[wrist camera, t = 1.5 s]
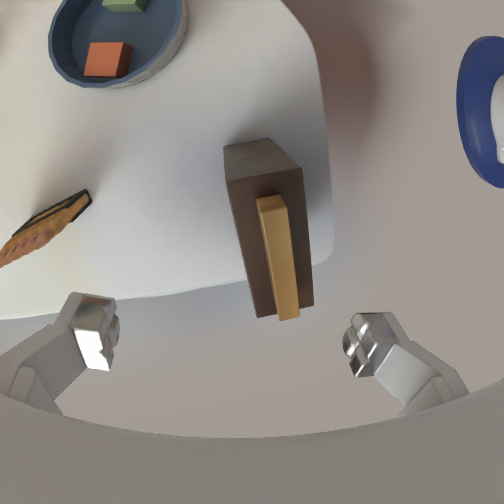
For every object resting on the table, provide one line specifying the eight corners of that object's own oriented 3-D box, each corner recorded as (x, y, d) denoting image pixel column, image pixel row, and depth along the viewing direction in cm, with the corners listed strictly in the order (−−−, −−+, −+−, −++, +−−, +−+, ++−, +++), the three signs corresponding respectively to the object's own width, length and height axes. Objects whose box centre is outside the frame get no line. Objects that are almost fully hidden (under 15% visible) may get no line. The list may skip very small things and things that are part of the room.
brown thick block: (269, 137, 29) (301, 167, 18) (284, 235, 36) (314, 305, 24) (223, 146, 29) (225, 182, 18) (244, 243, 36) (256, 318, 24)
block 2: (133, 47, 22) (123, 42, 19) (126, 78, 24) (115, 76, 21) (103, 46, 21) (90, 42, 18) (97, 77, 23) (83, 76, 20)
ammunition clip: (86, 188, 30) (35, 236, 19) (93, 202, 30) (45, 254, 20) (29, 218, 30) (-21, 268, 20) (35, 230, 31) (-12, 282, 21)
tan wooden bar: (279, 193, 19) (287, 207, 17) (293, 297, 24) (300, 317, 22) (255, 198, 19) (260, 212, 17) (274, 301, 24) (279, 321, 22)
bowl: (202, -18, 19) (199, -36, 15) (170, 92, 26) (161, 92, 21) (88, -18, 16) (70, -30, 12) (60, 87, 23) (37, 89, 19)
